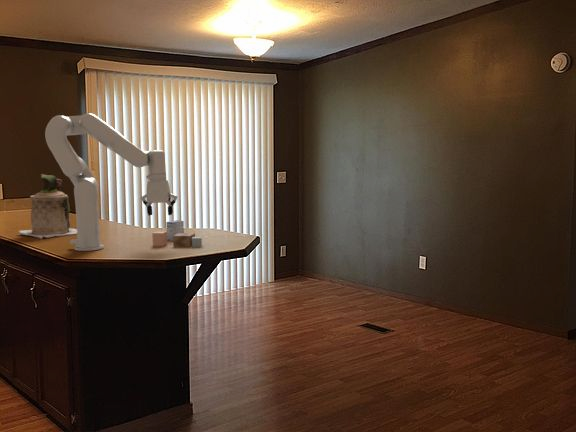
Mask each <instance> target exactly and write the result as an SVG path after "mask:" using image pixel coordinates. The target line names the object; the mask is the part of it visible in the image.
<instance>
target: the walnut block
mask: <svg viewBox="0 0 576 432" xmlns="http://www.w3.org/2000/svg"><path fill="white" fill-rule="evenodd" d="M193 237H196V233H193V232H191V233H189V232H186V233H185V232H184V233H178V234H176V235H174V236H173V240H172V243H173V244H172V245H173V246H172V247H192V238H193Z"/></svg>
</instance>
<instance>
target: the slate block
mask: <svg viewBox="0 0 576 432" xmlns="http://www.w3.org/2000/svg"><path fill="white" fill-rule="evenodd" d="M202 238H203V237H202V236H195V237H193V238H192V246H191V247H192V248H199V247H200V248H201V247H202V245H203V239H202Z"/></svg>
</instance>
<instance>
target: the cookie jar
mask: <svg viewBox="0 0 576 432" xmlns="http://www.w3.org/2000/svg"><path fill="white" fill-rule="evenodd" d="M40 178H41V184H42V185H41V186H42V187H43V188H42V189H41V190H40V191H39V192H37V193H35V194H33V195H30V196H29V199H30V200H31V210H30V225H31V227H32V229H26V230H24V229H22V230H18V233H19V236H22V235H23V236H28V237H34V238H38V239H43V238H53V237H64V236H71V235H73V236H74V235H77V228H70V227H71V224H70V221H69V220H70V211H71V208H70V207H71V206H70V203H69V196H68V194H65V192H63V191H61V188H60V187H62V184H63V180H62V179H60V178H57V177H56V176H55V175H48V174H43V173H41V174H40Z"/></svg>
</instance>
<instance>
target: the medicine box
mask: <svg viewBox="0 0 576 432" xmlns="http://www.w3.org/2000/svg"><path fill="white" fill-rule="evenodd" d="M184 223H185V222H184V220H181V219H180V220H178V219H177V220H170V221H166V223H165V224H166V225H165V226H166V232H167V240H168V239H169V240H170V241H173V236H174V235H176V234H178V233H185V226H184Z"/></svg>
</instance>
